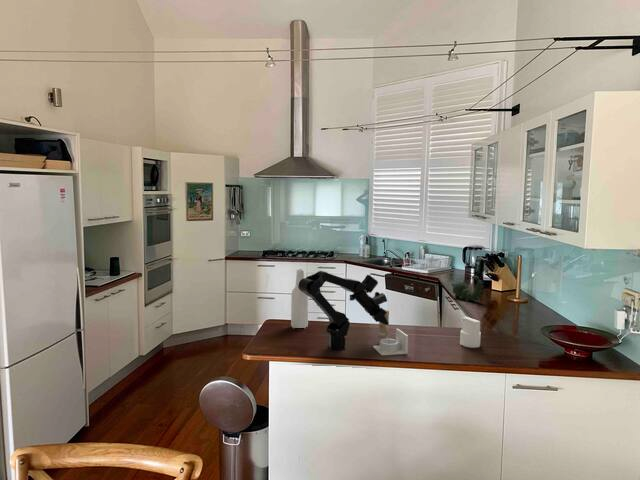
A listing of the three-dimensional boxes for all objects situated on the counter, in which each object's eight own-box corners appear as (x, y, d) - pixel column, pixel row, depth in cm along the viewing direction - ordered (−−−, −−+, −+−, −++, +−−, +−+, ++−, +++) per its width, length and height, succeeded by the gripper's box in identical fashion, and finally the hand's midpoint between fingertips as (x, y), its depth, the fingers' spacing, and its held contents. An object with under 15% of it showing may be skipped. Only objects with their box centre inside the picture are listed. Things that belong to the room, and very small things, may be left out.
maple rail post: (380, 338, 209) (381, 312, 208) (377, 335, 214) (378, 309, 212) (389, 337, 210) (390, 311, 209) (385, 335, 215) (386, 309, 213)
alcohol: (311, 327, 232) (312, 270, 230) (295, 330, 228) (296, 271, 225) (302, 323, 240) (303, 267, 237) (288, 325, 236) (288, 268, 233)
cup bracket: (382, 355, 193) (382, 337, 193) (373, 347, 204) (373, 329, 203) (407, 353, 196) (408, 335, 196) (397, 345, 207) (397, 328, 206)
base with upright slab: (455, 342, 213) (457, 317, 212) (470, 340, 217) (472, 316, 216) (469, 348, 205) (470, 322, 204) (484, 346, 209) (485, 320, 207)
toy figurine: (484, 305, 298) (454, 294, 319) (487, 277, 295) (457, 268, 315) (474, 306, 293) (445, 295, 314) (478, 278, 290) (448, 269, 310)
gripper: (382, 292, 200) (405, 316, 203) (371, 284, 218) (392, 306, 221) (364, 309, 200) (388, 333, 202) (355, 300, 218) (376, 322, 221)
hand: (386, 322), depth 212 cm, fingers closed on maple rail post, 4 cm apart
